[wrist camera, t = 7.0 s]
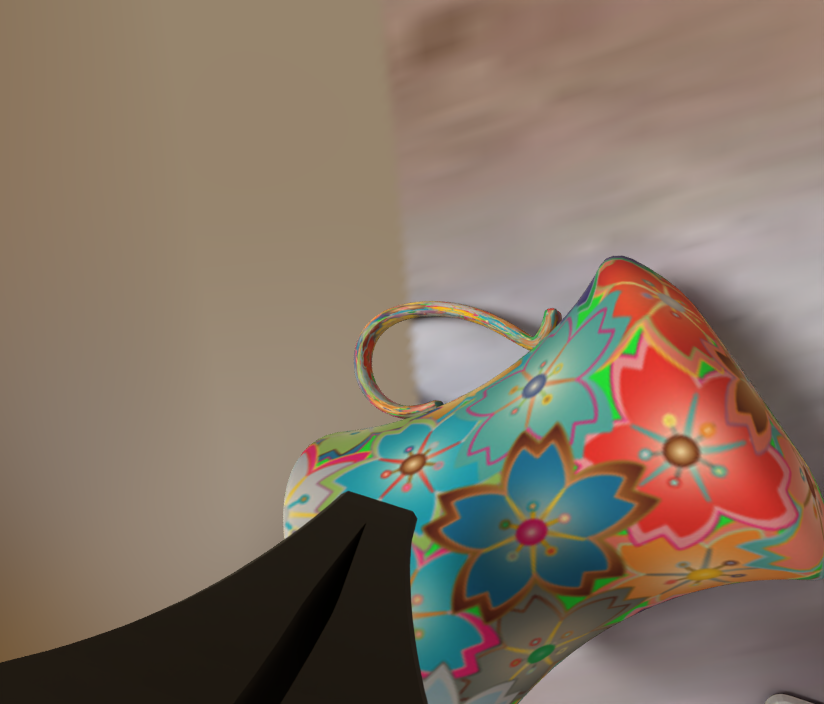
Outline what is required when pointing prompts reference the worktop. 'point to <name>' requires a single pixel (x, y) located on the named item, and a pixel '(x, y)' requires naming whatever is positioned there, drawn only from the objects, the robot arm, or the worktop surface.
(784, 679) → the worktop surface
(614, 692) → the worktop surface
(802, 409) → the worktop surface
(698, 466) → the mug
